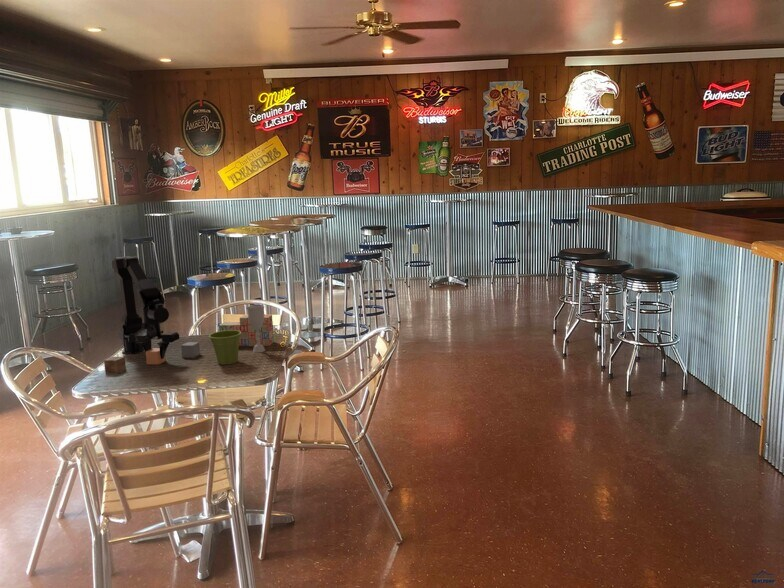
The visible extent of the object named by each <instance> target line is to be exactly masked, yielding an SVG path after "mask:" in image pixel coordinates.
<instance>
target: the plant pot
mask: <svg viewBox="0 0 784 588" xmlns="http://www.w3.org/2000/svg"><path fill="white" fill-rule="evenodd" d="M240 334H241V331H238V330H225V331H220V330H219V331H215V332H212V333H210V334H209V335H208V337H209V338H210V341H211V343H212V345H213V350H214V354H215V356H216V357H215V358H216V359H217V363H218V364H219V365H221V366H225V365H234V364H236V363H237V362H238V360H239V347H240V346H239V340H240Z"/></svg>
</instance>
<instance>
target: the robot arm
mask: <svg viewBox="0 0 784 588" xmlns="http://www.w3.org/2000/svg"><path fill="white" fill-rule="evenodd" d="M111 266H112V269H113V272H114V274H115V275H116V277H118V279H119V283H120V292H121V299H122V307H123V316H122V317H121V320H120V327H119V330H118V333H117V334H118V338H119V339H120V340H122V342H123V343H122V344H123V349H124V350H123V351H122V352H121V354H137V353H140V352H142V351H144V352H145V353H146V351H148V350H150V349H152V340H159V342H157V343H156V344H157V345H158V346H159V347H158V348H160V356H161V359H163V358H164V355H165V356H166V352H167V349H168V346H169V345H170V343H173V342H176V341H178V340H179V339H180V334H179V332H178V331H168V332H165V333H164V329H163V330H162V328H161V324H162V323H165V322H166V321H167V320H169V316H170V312H169V311H168V309H167V308H166V307H164V306H163V305H164V304H165V298H164V296H163V293H162V291H161V290H160V288H158V286H157V285H156V284H155V282H153V281H150V280H149V278H148V276H147V275H146V273H145V271H144V269H143V267H142V266H141V264H140V260H139V258H138V257H137V256H131V255H127V256H118V257H114V259H113V260H112V261H111ZM133 282H134V283H133ZM134 284H135V285H136V288H137V290H136V297H137V300H138V302H139V303H140V304H141V305H140V307H141V308H142V316H143V318H142V316H140V315H139V314H138V313H137V307H136V299H135V289H134V288H135V287H134Z"/></svg>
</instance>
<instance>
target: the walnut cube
mask: <svg viewBox="0 0 784 588" xmlns="http://www.w3.org/2000/svg"><path fill="white" fill-rule="evenodd" d="M103 363H104V371H105V374H116V375H117V374H120V373H122V372H125V371H126V370H127V365H126V357H125V356H111V357H108V358H106V359H104V360H103Z"/></svg>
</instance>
